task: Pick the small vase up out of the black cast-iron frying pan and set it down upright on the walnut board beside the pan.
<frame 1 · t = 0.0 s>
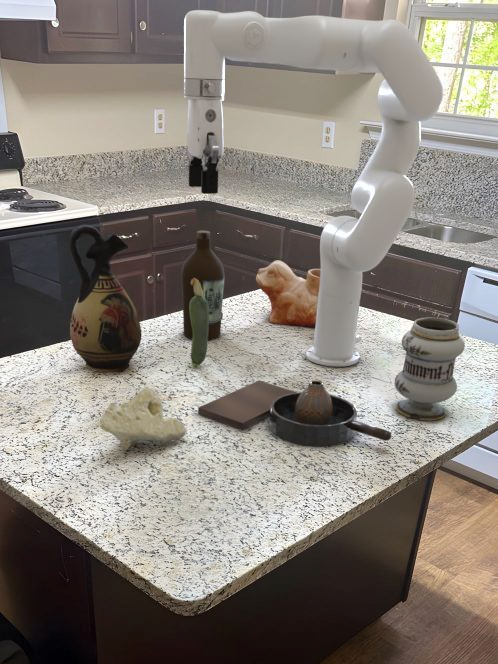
hand: (202, 189, 144), 37 cm above the counter, tool pointing down, fingers open, 9 cm apart
pan: (311, 427, 137), on the counter
board: (251, 407, 145), on the counter
vegetable: (198, 368, 163), on the counter
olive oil: (202, 335, 184), on the counter
pan handle: (369, 430, 129), point 3 cm above the counter
ceramic jug: (104, 367, 162), on the counter
cream coral rock: (140, 448, 128), on the counter
apothecary jar: (420, 411, 146), on the counter
ceramic vessel: (300, 320, 198), on the counter
vase: (311, 427, 137), resting on pan
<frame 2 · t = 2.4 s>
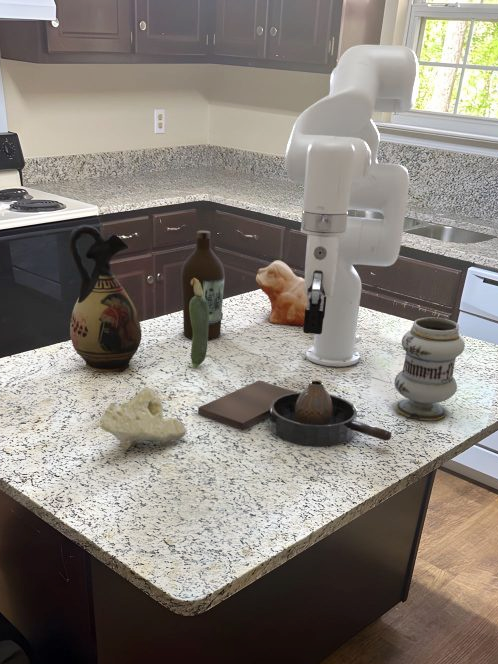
hand: (313, 325, 128), 19 cm above the counter, tool pointing down, fingers open, 9 cm apart
nothing on the counter moved.
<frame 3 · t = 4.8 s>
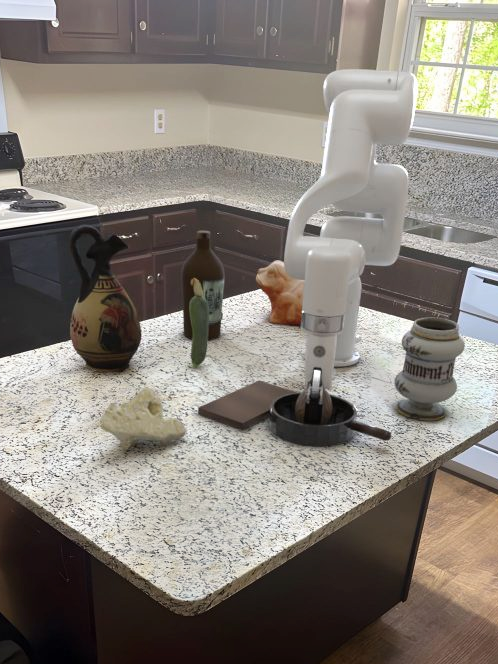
hand: (313, 414, 136), 3 cm above the counter, tool pointing down, fingers closed on vase, 7 cm apart
vase: (311, 427, 137), resting on pan, touching gripper
everything else where it was.
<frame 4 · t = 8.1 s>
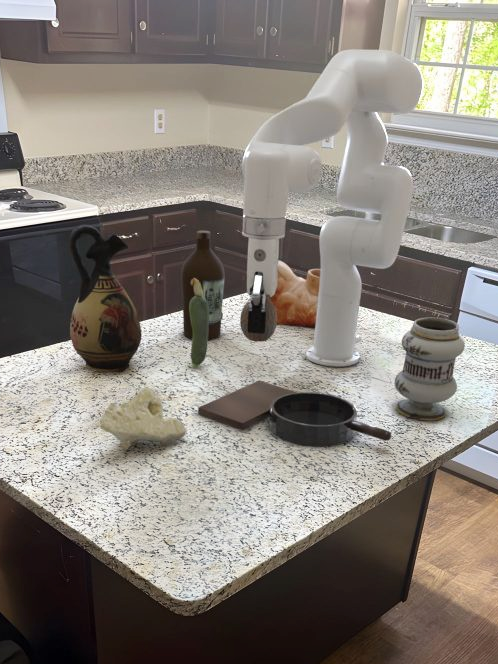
hand: (258, 325, 136), 17 cm above the counter, tool pointing down, fingers closed on vase, 7 cm apart
vase: (257, 339, 137), point 14 cm above the counter, touching gripper
everything else where it was.
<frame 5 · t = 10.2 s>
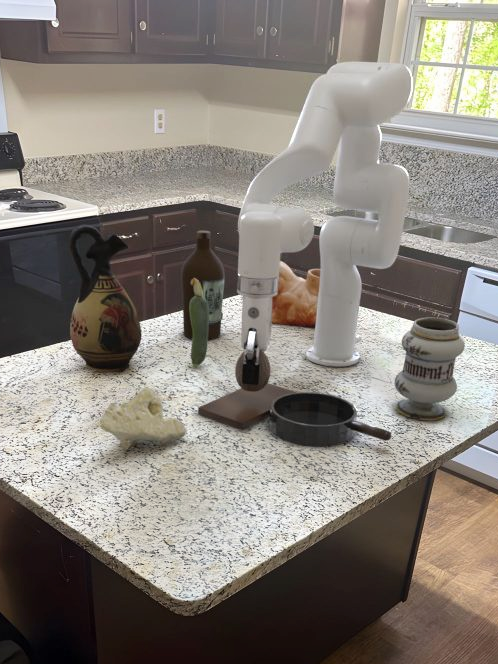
hand: (252, 376, 141), 7 cm above the counter, tool pointing down, fingers closed on vase, 7 cm apart
vase: (251, 389, 143), point 4 cm above the counter, touching gripper
everything else where it was.
when the fingers open (4 cm above the counter, at t = 11.5 s): vase stays where it is, resting on board.
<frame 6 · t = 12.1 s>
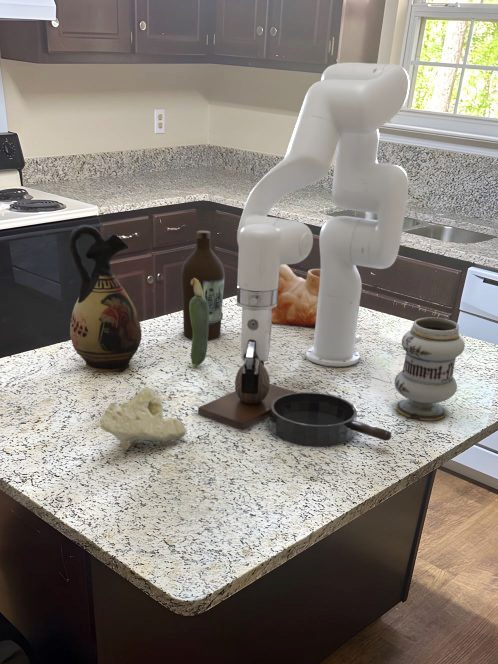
hand: (252, 383, 142), 5 cm above the counter, tool pointing down, fingers open, 9 cm apart
vase: (251, 401, 144), point 1 cm above the counter, touching board
everything else where it was.
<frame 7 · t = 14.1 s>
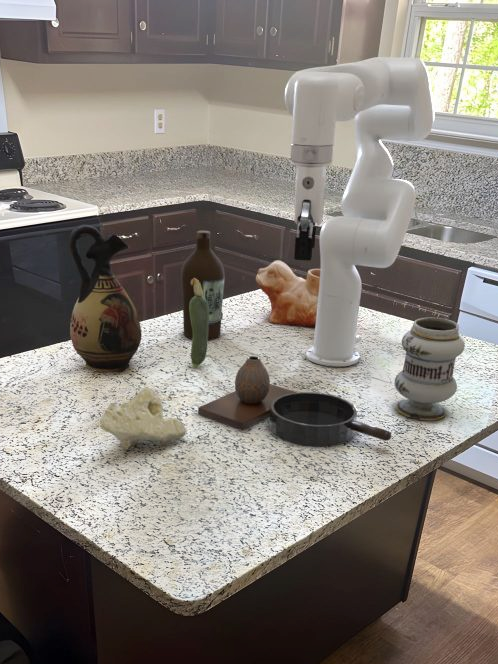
hand: (304, 253, 139), 28 cm above the counter, tool pointing down, fingers open, 9 cm apart
nothing on the counter moved.
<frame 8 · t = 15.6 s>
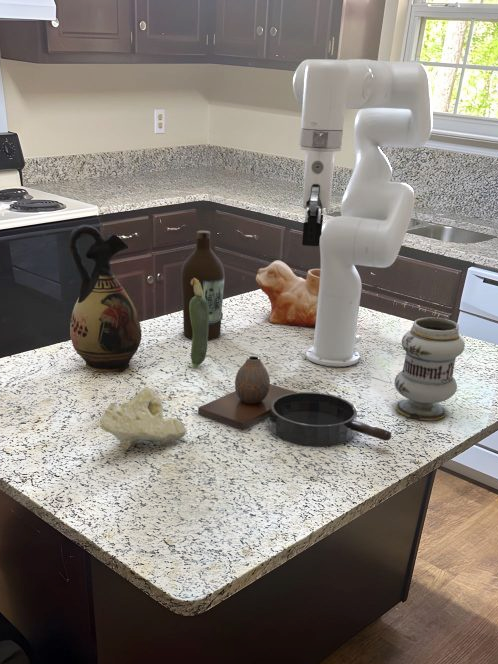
hand: (311, 240, 138), 30 cm above the counter, tool pointing down, fingers open, 9 cm apart
nothing on the counter moved.
at the end: vase inside the target area on the board (0.0 cm from its centre), point 1.3 cm above the board's base; vase tilted 0°; the gripper is holding nothing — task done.
